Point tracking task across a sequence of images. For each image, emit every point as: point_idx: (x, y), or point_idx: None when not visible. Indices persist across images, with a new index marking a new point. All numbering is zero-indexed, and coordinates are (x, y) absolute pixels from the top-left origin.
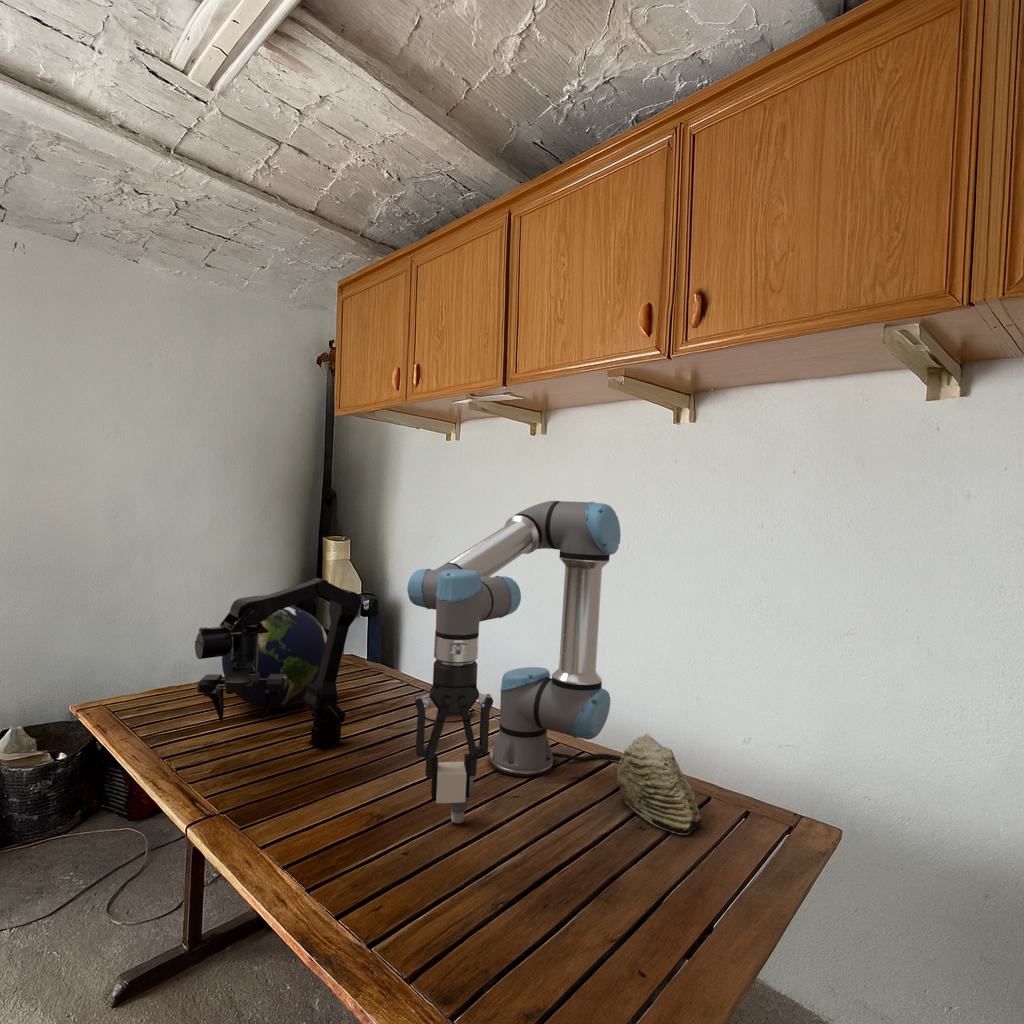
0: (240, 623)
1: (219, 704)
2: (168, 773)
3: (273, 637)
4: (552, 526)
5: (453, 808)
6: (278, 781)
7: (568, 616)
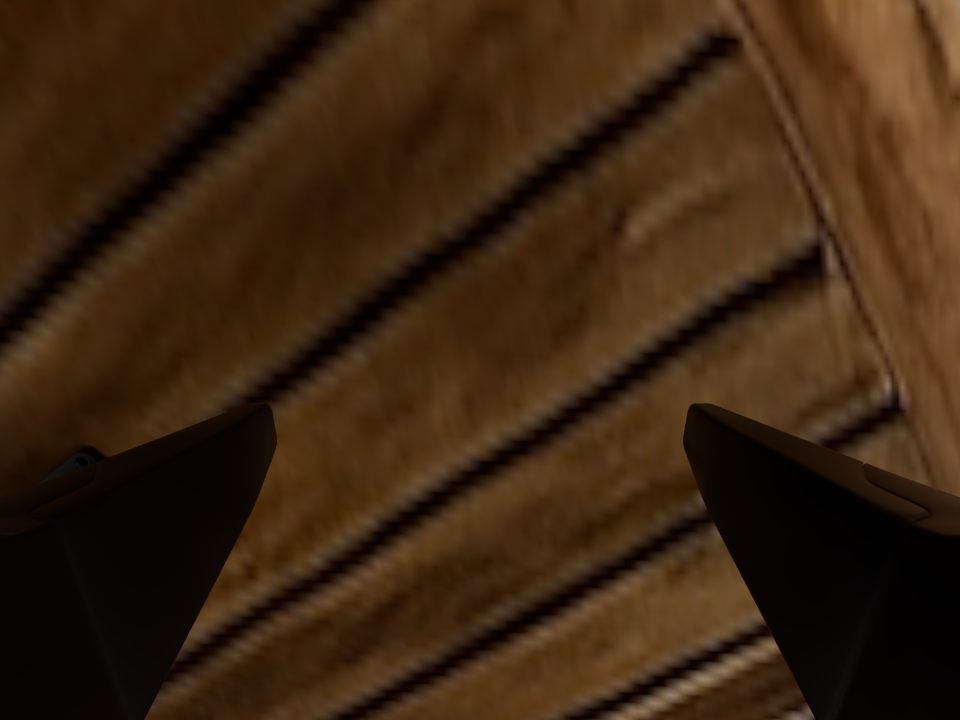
0: None
1: (844, 488)
2: (861, 205)
3: None
4: None
5: None
6: (180, 9)
7: None
